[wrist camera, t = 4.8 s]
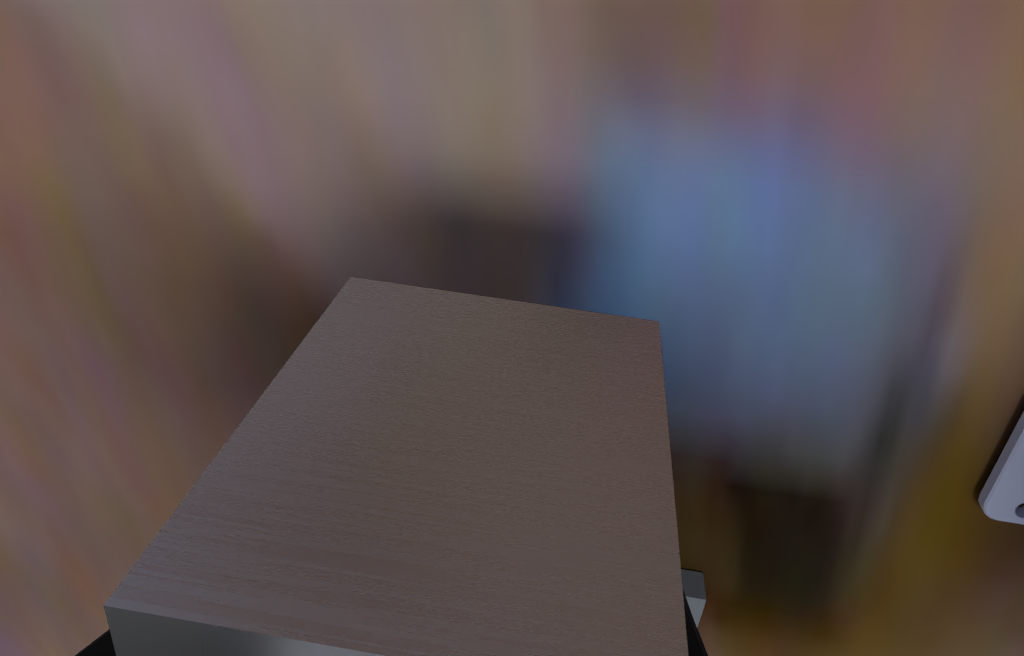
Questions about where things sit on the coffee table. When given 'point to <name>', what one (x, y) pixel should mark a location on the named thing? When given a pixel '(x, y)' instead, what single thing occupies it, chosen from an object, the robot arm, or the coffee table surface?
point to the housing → (430, 494)
